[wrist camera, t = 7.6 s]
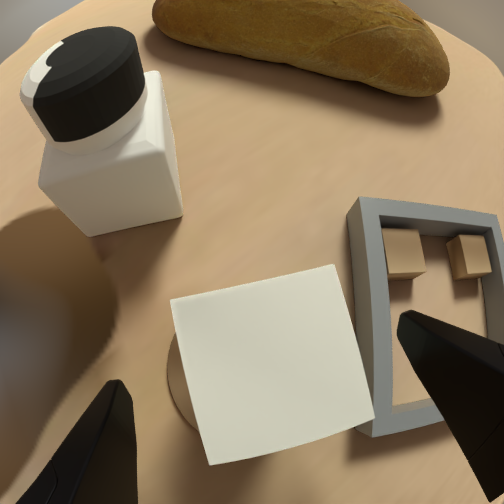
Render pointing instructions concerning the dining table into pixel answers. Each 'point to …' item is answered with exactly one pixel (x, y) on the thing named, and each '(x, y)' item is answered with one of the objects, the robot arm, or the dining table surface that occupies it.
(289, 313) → the tall square-topped block
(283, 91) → the dining table surface
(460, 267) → the parts block
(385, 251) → the block
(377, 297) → the grey square frame
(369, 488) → the dining table surface
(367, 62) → the bread
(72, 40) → the medicine bottle
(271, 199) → the dining table surface
